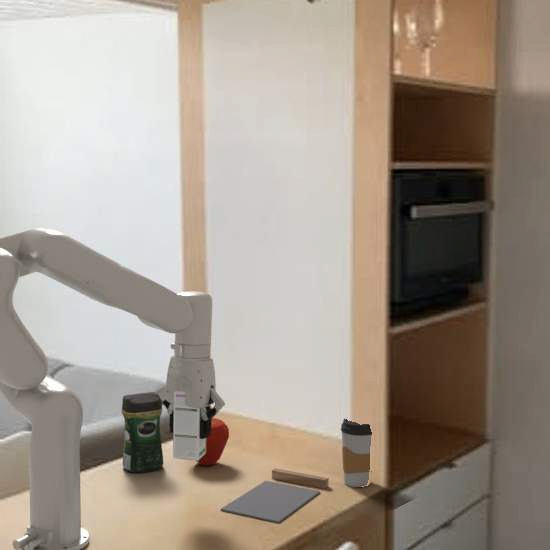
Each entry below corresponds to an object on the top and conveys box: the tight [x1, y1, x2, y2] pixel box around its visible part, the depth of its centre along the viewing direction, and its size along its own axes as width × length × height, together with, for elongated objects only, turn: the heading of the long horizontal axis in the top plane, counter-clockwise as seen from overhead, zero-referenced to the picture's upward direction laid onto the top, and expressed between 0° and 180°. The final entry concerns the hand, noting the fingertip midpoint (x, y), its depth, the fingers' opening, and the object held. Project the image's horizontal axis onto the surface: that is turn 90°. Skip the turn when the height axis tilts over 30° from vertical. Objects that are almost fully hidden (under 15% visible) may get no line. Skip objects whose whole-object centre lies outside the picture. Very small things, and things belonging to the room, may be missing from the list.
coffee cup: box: [340, 418, 372, 488], centre depth 205 cm, size 8×8×15 cm
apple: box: [196, 417, 230, 466], centre depth 217 cm, size 11×11×12 cm
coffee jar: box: [121, 391, 164, 474], centre depth 214 cm, size 10×8×19 cm
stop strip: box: [271, 467, 330, 489], centre depth 206 cm, size 2×14×2 cm, turn 62°
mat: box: [220, 480, 321, 524], centre depth 194 cm, size 20×14×1 cm
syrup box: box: [172, 391, 206, 462], centre depth 185 cm, size 6×6×14 cm
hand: (189, 433), depth 185 cm, fingers closed on syrup box, 6 cm apart
